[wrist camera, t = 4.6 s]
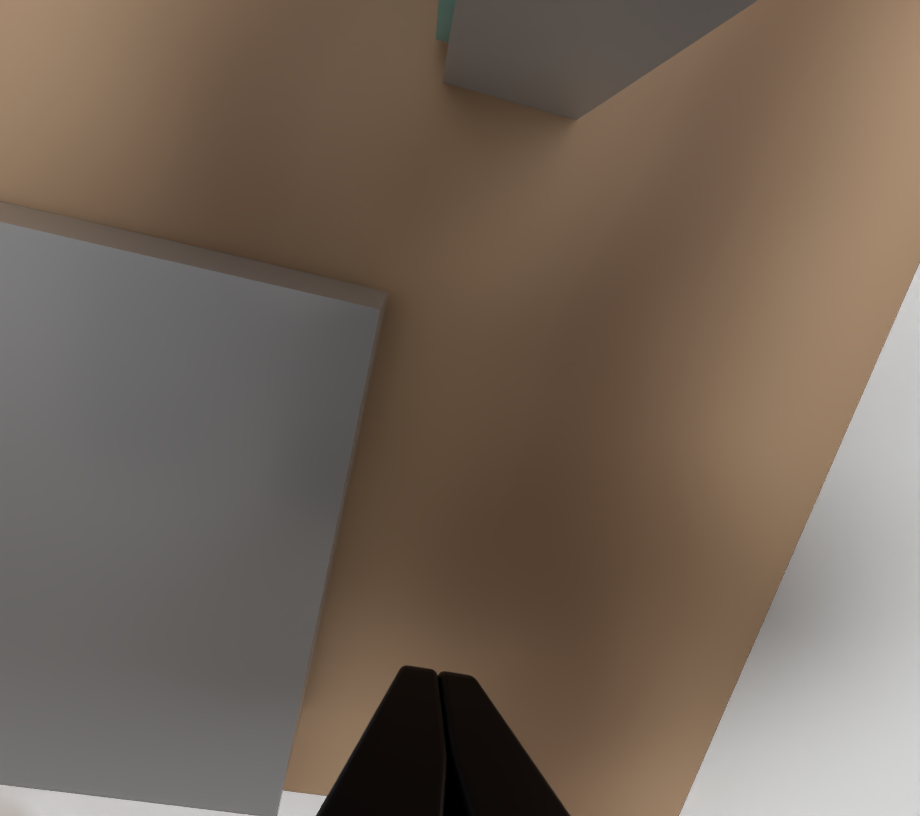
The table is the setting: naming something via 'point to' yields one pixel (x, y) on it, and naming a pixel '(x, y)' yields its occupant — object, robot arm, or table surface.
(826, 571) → the table surface
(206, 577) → the tile
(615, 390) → the board
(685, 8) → the tile
